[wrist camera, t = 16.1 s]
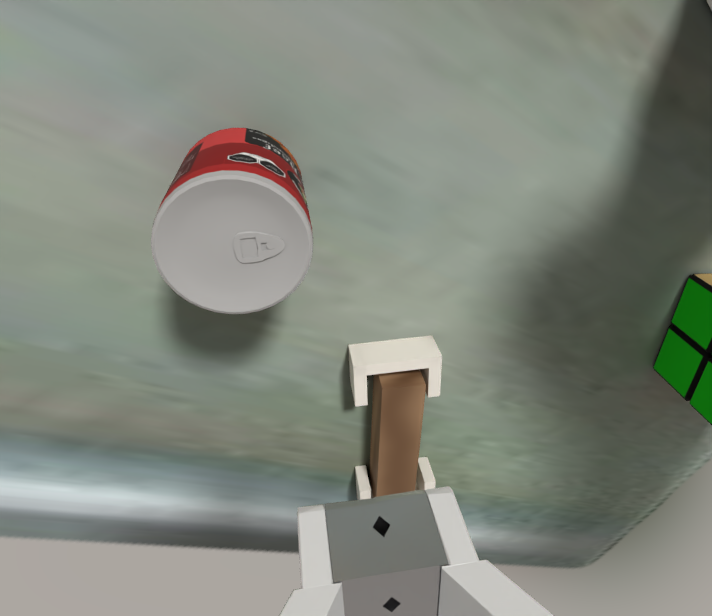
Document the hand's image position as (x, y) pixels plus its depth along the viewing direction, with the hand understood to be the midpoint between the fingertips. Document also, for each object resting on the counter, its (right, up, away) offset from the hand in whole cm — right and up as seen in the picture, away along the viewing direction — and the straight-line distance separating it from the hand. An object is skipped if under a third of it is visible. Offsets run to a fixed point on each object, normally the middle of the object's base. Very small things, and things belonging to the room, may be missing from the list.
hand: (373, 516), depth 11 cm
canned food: (-8, +13, +26) cm, 30 cm away
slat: (+3, -6, +38) cm, 39 cm away
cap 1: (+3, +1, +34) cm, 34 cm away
